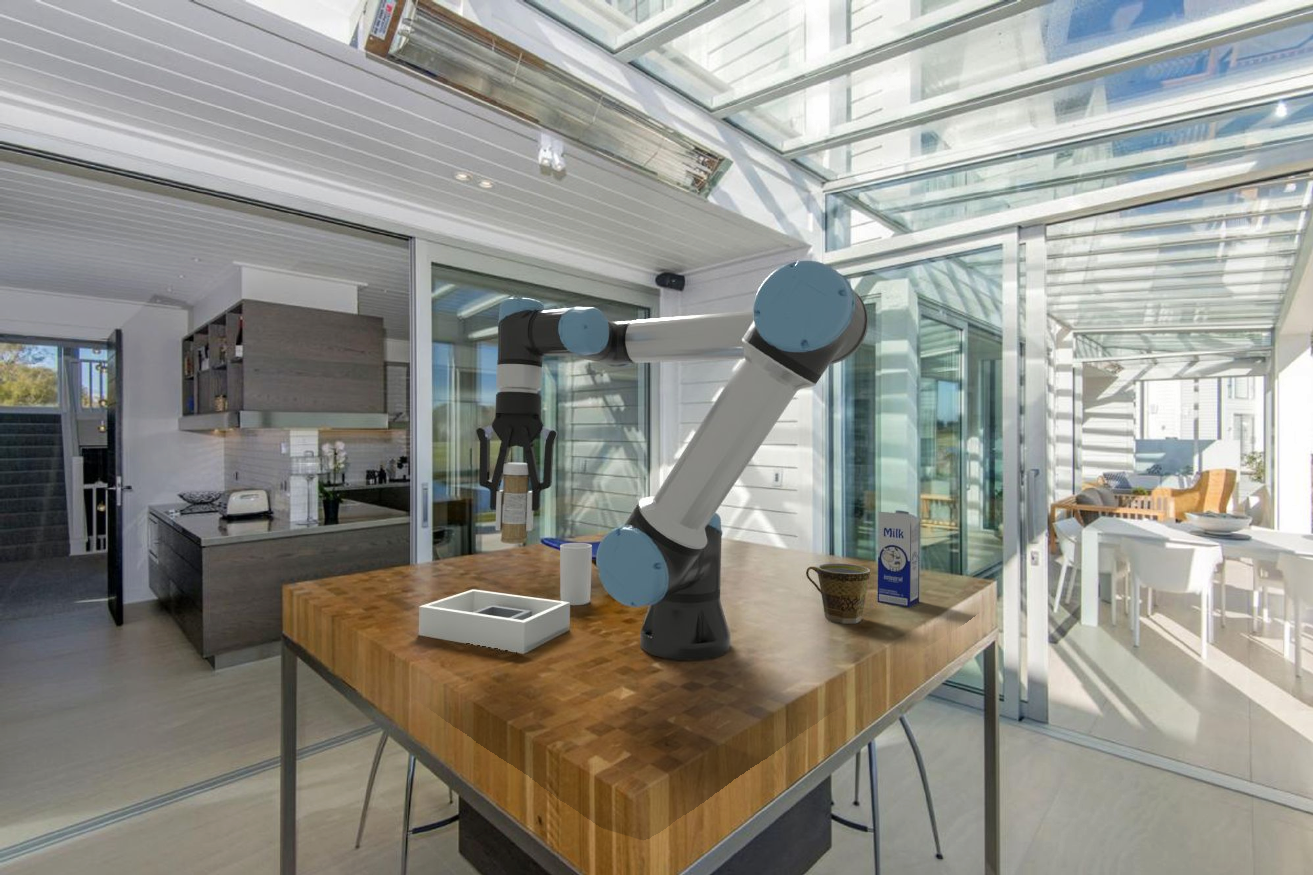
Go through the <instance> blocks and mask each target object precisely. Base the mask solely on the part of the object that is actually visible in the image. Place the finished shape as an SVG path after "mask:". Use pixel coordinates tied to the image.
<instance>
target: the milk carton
mask: <svg viewBox="0 0 1313 875" xmlns="http://www.w3.org/2000/svg"><path fill="white" fill-rule="evenodd" d="M877 514H878V516H877V517H878V519H877V520H878V527H877V531H878V532H877V534H878V536H877V539H878V540H877V542H878V543H877V602H878V603H883V604H888V605H889V604H890V605H895V606H899V607H900V606H901V607H905V608H910V607H912V606H914V605H916V604H917V603H919V602H920V556H921V554H920V548H921V547H920V546H921V545H920V543H921V542H920V537H921V534H920V531H921V528H920V527H921V522H920V521H921V519H920V518H918V517H917V516H916V515H914V514H911V513H910V512H908V511H906V510H899V509H898V510H895V512H889V511H877Z"/></svg>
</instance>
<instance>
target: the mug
mask: <svg viewBox="0 0 1313 875" xmlns="http://www.w3.org/2000/svg"><path fill="white" fill-rule="evenodd" d="M559 548H560V549H559V550H560V551H559V553H560V554H559V555H560V556H559V562H560V563H559V573H560V576H559V577H560V579H559V583H560V584H559V585H560V586H559V588H560V590H559V592H560V593H559V594H560V595H559V596H560V601H564V602H570V606H582V605H583V606H584V605H587V604H589V603H590V602H591V590H592V589H591V588H592V587H591V586H592V585H591V583H592V560H593V559H592V557H593V546H592V544H590V543H584V542H568V543H562V544H560V545H559Z"/></svg>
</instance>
